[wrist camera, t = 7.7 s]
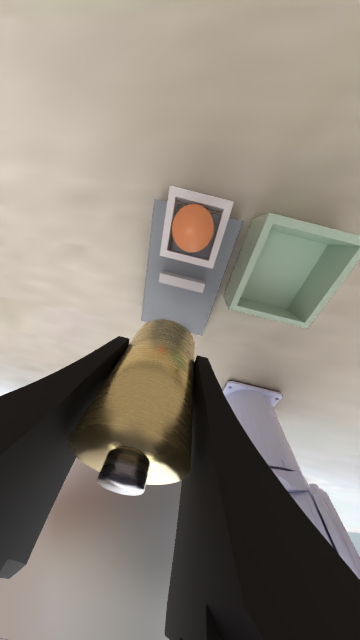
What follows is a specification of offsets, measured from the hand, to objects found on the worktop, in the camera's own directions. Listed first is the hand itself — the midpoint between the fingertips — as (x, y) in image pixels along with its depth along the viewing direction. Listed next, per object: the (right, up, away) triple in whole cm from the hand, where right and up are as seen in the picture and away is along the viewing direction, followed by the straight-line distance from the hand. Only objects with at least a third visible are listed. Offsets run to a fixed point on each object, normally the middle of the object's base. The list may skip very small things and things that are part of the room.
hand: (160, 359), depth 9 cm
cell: (0, +1, +1) cm, 1 cm away
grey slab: (+2, +7, +6) cm, 10 cm away
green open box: (+10, +7, +5) cm, 13 cm away
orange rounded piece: (+2, +9, +3) cm, 10 cm away
